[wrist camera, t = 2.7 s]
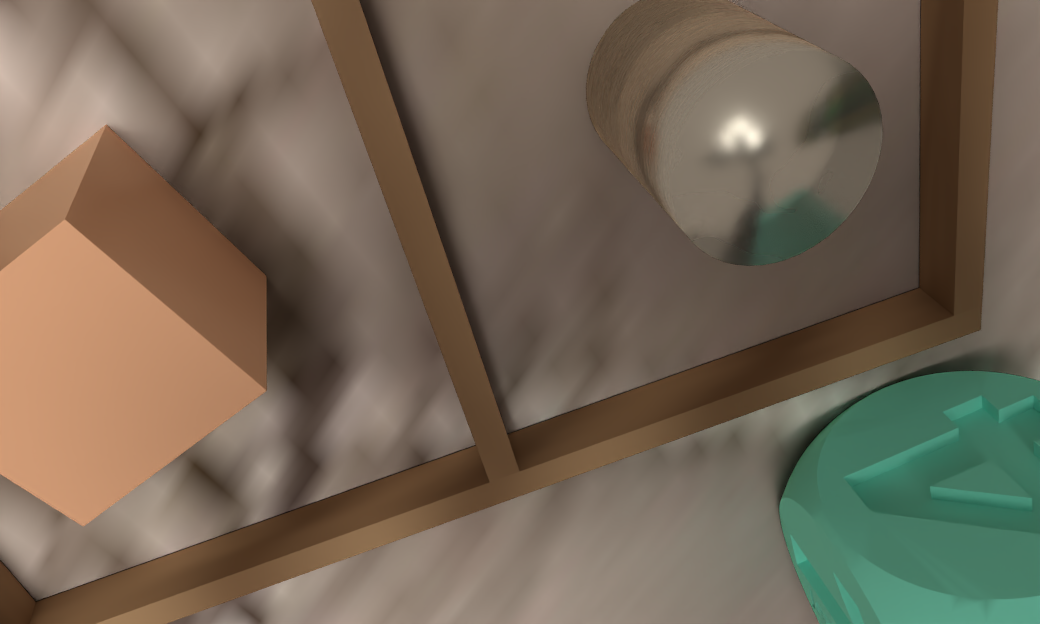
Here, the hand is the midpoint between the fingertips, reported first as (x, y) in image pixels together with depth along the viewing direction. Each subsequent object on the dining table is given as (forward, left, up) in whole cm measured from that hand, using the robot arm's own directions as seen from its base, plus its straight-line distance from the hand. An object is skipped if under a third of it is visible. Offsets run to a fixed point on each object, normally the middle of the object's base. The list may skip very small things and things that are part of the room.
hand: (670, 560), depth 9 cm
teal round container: (-10, +15, -13) cm, 22 cm away
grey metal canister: (-5, 0, -12) cm, 13 cm away
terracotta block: (+8, 0, -12) cm, 15 cm away
